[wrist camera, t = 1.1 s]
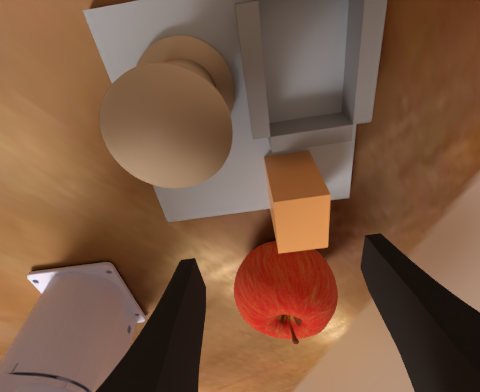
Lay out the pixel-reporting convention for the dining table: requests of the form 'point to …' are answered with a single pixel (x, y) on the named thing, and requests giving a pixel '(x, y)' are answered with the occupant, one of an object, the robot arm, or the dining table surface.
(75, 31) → the dining table surface
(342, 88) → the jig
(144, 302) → the dining table surface
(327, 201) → the block
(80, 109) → the dining table surface
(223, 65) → the knob
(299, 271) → the apple
